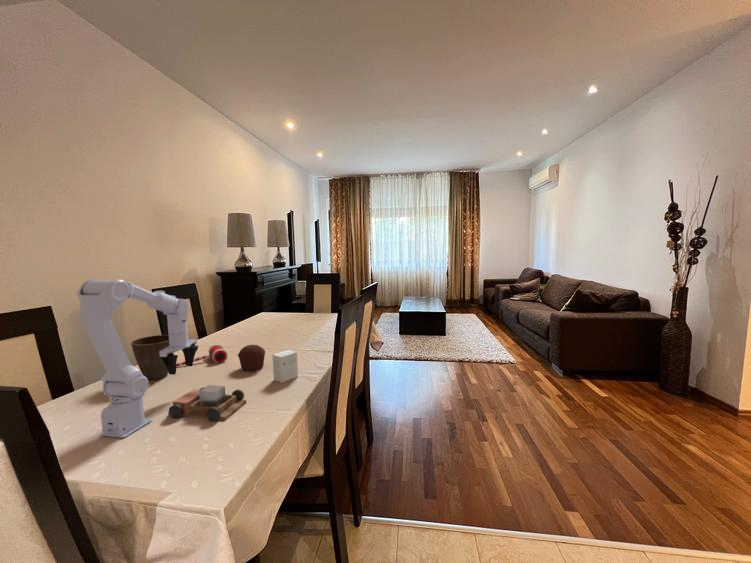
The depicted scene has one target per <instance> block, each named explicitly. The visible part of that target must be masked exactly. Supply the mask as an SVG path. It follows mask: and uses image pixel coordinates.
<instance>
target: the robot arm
mask: <svg viewBox="0 0 751 563" xmlns="http://www.w3.org/2000/svg"><path fill="white" fill-rule="evenodd" d="M76 295H77V297H78V299H79V302H80V303H79V304H80V309H79V310H80V313H79V316H80V320H81V323H82V326H83V327H84V329H85V331H86V333H87V335H88V337H89V339H90V341H91V343H92V346H93V347H94V349H95V351H96V354H97V355H98V358H99V360H100V362H101V364H102V366H103V368H104V370H105V373H104V374H103V376H101V378H100V379H101V381H102V391H103V393H104V395H105V396H107V397H108V398H109V401H110V403H108V405H107V406H106V407H105V408H103V409H102V411H101V413H100V419H101V430H102V432H100V437H111V438H120V439H123V438H124V439H125V438H127V437H128V436H130V435H131V434H133V433H134V432H136V431H137V430H139V429H141V428H142V427H145V426H146V425H148V424H149V423H151V422H152V421H153V418H147V417H146V416H145V405H144V396H145V393H147V390H148V388H149V381H148V379H147V378H146V377H145V376H143V374H142V372H141V370H140V368H137V367H136V366H134V365H132V364H131V362H130V360H129V358H128V355H127V353H126V351H125V349H124V348H125V347H124V346H123V344H122V341H121V340H120V337H119V335H118V333H117V331H116V329H115V326H114V323H113V321H112V319H111V316H112V314H114V313H115V312H116V311H117V310H118V309H119V308H120V307H121V306H122V304H123V303H125V301H126V300H127V299H133V300H137V301H140V302H144V303H146V305H147V307H148V308H150V309H152V310H155V311H159V312H162V314H163V315H165V316H166V320H167V332H168V335H169V345H170V346H168V347H166V348H165V349H163V350H161V351H159V352H160V359H161V360H162V361H163V363H164V364H165V366H166V368H167V370H168V375H171V376H172V375H174V376H175V375H177V367H176V364H177V362H178V357H179V355H178V354H175V353H176V352H179V351H182V353H183V356H184V362H185V366H186V367H193V364H194V362H193V360H194V359H195V356H196V353H197V351H198V349H199V346H198V345H197V344H198V341H197V338H191V339H189V332H188V331H189V330H188V321H187V320H188V318H189V311H190V309H191V306H190V304H189V301H187V299H185V298H177V297H176V295H170V294H167V293H166V292H165V291H164V290H155V291H153V292H152V291H149V290H147V289H144V288H143V287H140V286H137V285H135V284H133V283H132V282H130V281H126V280H123V279H121V278H120V279H119V278H118V279H88V280H86V281H84V282H82V284H81V286H80V288H79V289H78V290H77V292H76Z"/></svg>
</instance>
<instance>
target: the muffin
mask: <svg viewBox="0 0 751 563" xmlns="http://www.w3.org/2000/svg"><path fill="white" fill-rule="evenodd" d="M265 355H266V350H265V349H264V348H263V347H262V346H260V345H259V344H258V345H257V344H248V345H245V346H244V347H242V348H240V351H239V352H238V353H237V357H238V359H239V364H240V367H241V370H242V371H244V372H247V371H248V372H249V373H250V372H256V371H259V370H262V369H263V367H264V364H265V357H266V356H265Z"/></svg>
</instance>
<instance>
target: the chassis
mask: <svg viewBox="0 0 751 563" xmlns="http://www.w3.org/2000/svg"><path fill="white" fill-rule="evenodd" d="M205 387H206V386H203V387H201V388H199V389H192V390H190V391H188V392H186V393H185V394H184V395H182V396H180V397H178V398H177V399H175V400H174V401H172V405H171V406H170V407H169V408H168V414H167V415H168V416H169V417H171V418H172V419H178V418H180V417H183V418H184V417H185V418H195V417H196V418H198V419H207V418H208V419H207V420H208V421H210V422H216V421H218V420H221V421H226V420H228V419H229V418H230V417H231V416H232V415H234V414H235V413H236V412H237V411H239V410H240V409H241V408H242V407H244V406H245V405H246V404H247V399H244V398H245V392H244V391H243V390H241V389H240V388H239V389H235V390H234V391H232V393H231V394H226V393H225V396H226V402H225V403H223V404H222V405H221V406H219V407H211V406H200V400H199V391H200V390H201V389H203V388H205Z"/></svg>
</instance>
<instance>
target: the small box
mask: <svg viewBox="0 0 751 563" xmlns="http://www.w3.org/2000/svg"><path fill="white" fill-rule="evenodd" d="M272 371H273V373H272V374H273V381H274V382H275V381H276V382H278V383H280V384H283V383H285V382H288V381H291V380H293V379H296V378H298V377H299V370H298V352H297V351H294V350H291V349H287V350H283V351H280V352H277V353H273V354H272Z"/></svg>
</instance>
